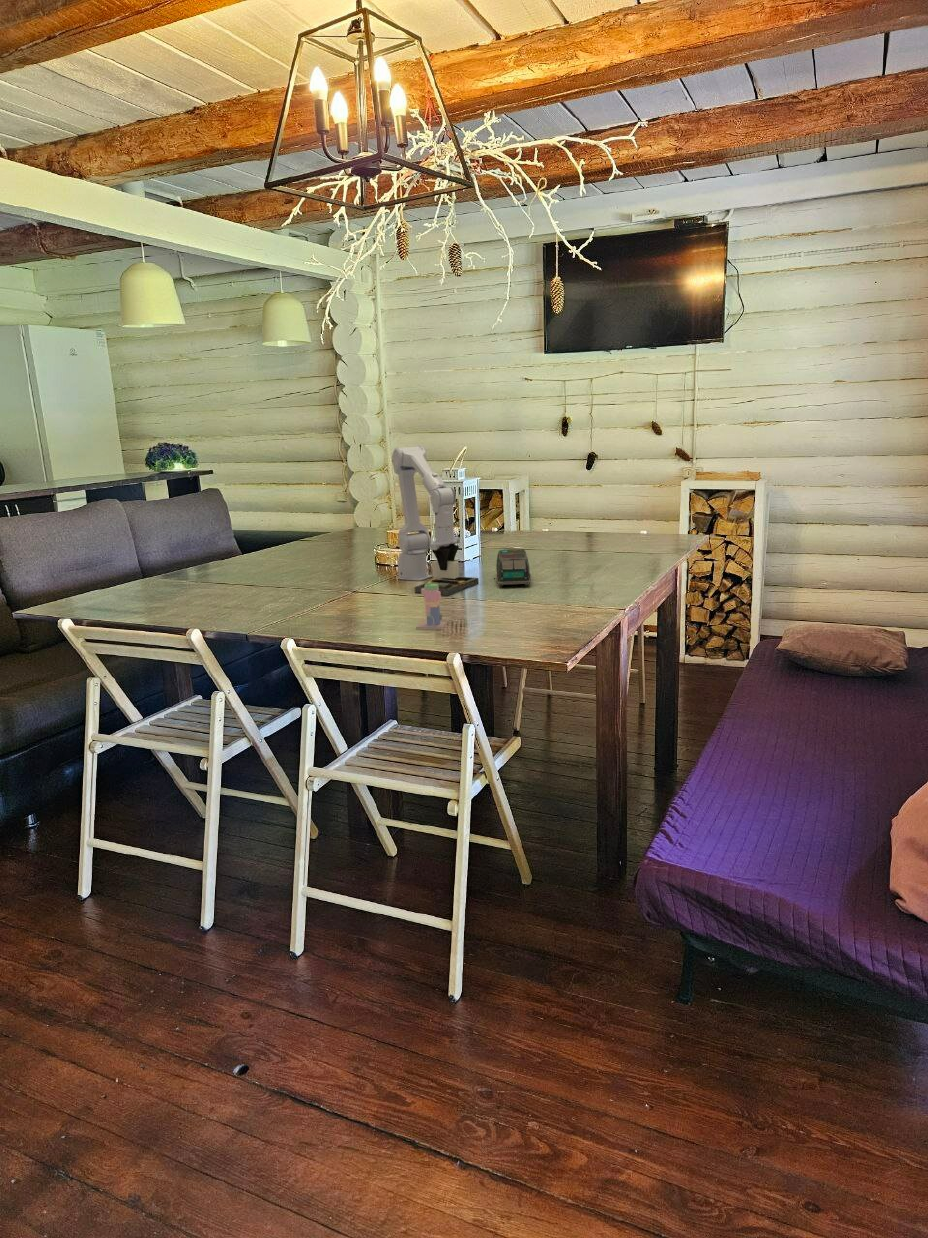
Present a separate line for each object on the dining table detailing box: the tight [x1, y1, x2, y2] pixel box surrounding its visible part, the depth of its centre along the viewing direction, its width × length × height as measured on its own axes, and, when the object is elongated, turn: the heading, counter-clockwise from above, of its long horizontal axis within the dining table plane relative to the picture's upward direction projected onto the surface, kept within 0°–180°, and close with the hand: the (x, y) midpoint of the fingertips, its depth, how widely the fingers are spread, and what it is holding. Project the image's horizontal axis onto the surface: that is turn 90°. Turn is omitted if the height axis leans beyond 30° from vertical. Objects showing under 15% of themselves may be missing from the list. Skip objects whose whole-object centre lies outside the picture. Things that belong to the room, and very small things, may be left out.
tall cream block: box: [431, 559, 460, 579], centre depth 268 cm, size 8×3×5 cm, turn 59°
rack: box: [414, 576, 480, 597], centre depth 269 cm, size 12×19×3 cm, turn 149°
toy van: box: [495, 548, 531, 588], centre depth 276 cm, size 11×25×10 cm, turn 178°
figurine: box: [415, 580, 448, 631], centre depth 222 cm, size 7×6×12 cm
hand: (446, 569), depth 268 cm, fingers closed on tall cream block, 3 cm apart
